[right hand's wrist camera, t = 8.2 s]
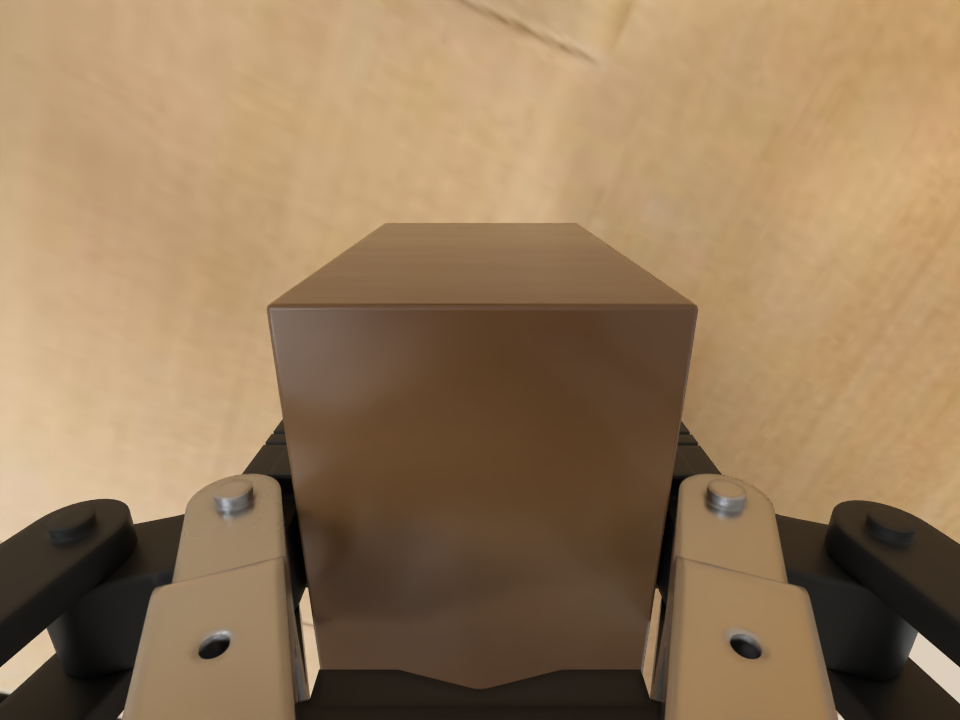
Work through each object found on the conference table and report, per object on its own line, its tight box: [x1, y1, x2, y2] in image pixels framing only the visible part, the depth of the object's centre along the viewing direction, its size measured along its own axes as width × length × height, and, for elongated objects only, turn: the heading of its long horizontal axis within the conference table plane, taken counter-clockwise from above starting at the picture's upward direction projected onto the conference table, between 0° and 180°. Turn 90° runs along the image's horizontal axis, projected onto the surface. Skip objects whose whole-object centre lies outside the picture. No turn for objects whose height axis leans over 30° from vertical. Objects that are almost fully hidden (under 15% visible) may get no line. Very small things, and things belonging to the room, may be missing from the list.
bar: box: [267, 223, 698, 689], centre depth 14 cm, size 23×5×8 cm, turn 0°
